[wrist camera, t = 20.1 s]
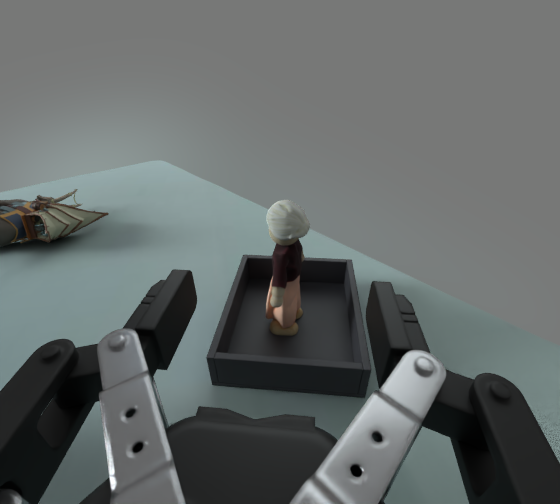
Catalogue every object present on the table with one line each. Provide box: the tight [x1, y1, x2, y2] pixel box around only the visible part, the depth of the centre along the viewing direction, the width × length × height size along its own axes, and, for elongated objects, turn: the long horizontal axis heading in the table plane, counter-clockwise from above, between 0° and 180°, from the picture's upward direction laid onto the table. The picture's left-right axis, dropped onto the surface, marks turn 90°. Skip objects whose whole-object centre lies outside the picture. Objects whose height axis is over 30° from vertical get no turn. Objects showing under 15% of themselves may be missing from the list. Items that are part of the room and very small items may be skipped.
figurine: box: [0, 189, 109, 247], centre depth 45 cm, size 20×6×17 cm
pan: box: [207, 255, 371, 397], centre depth 29 cm, size 12×14×3 cm
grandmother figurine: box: [265, 200, 310, 336], centre depth 27 cm, size 8×4×13 cm, turn 174°
